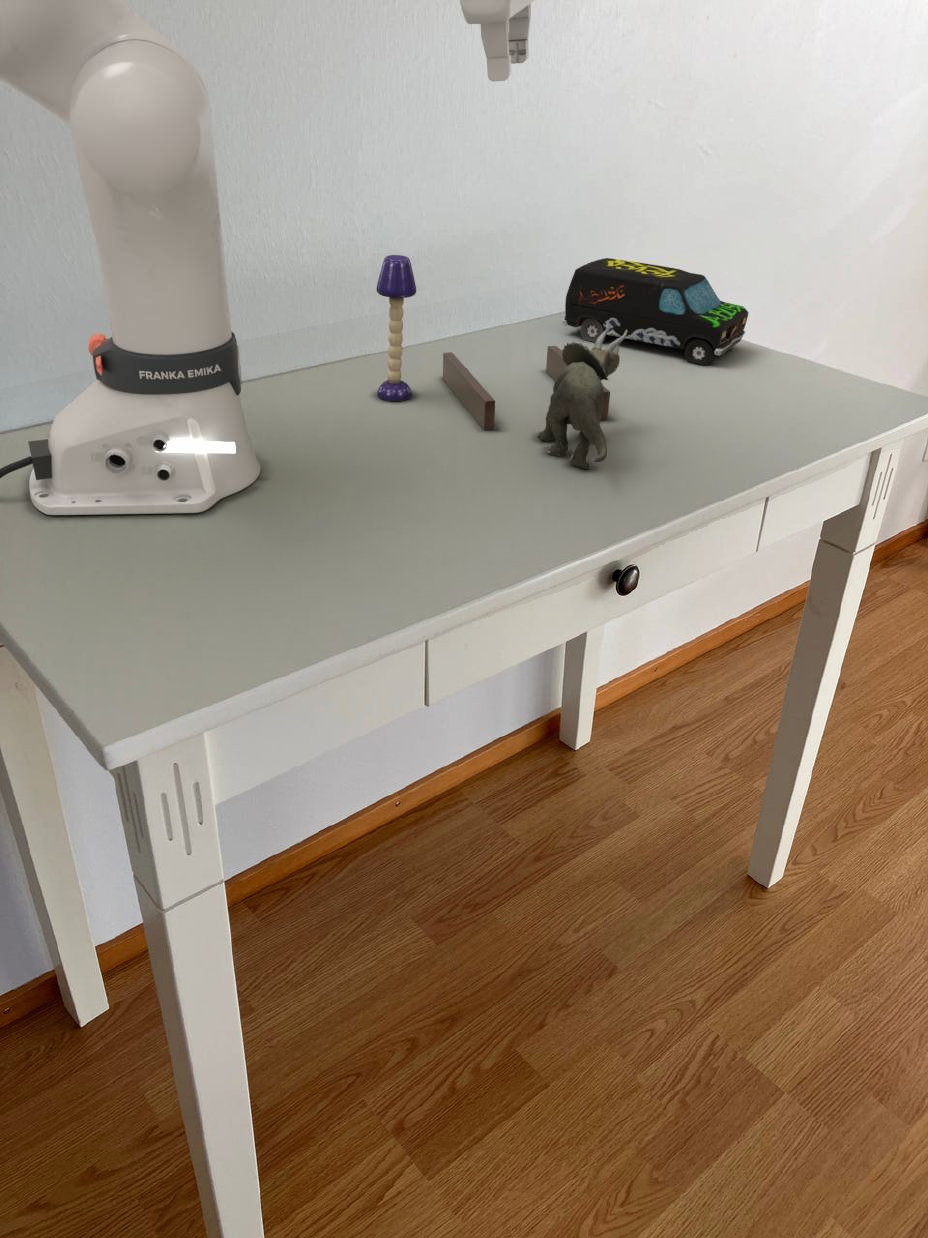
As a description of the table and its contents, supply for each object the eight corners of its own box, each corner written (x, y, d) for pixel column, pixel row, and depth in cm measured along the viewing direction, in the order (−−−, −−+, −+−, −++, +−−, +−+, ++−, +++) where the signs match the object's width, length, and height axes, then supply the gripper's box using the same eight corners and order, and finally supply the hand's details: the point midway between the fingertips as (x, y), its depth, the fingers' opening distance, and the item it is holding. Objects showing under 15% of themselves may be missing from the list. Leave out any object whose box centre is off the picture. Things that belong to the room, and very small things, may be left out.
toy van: (718, 369, 139) (730, 294, 133) (558, 335, 150) (563, 265, 145) (746, 350, 146) (758, 278, 141) (591, 319, 158) (597, 252, 152)
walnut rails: (484, 430, 118) (485, 401, 116) (442, 379, 132) (443, 352, 130) (607, 419, 122) (610, 391, 120) (554, 371, 136) (556, 345, 134)
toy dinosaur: (601, 497, 103) (613, 389, 98) (518, 487, 105) (525, 381, 99) (617, 420, 122) (628, 325, 116) (547, 412, 123) (554, 319, 117)
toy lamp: (419, 391, 128) (420, 253, 119) (411, 404, 124) (411, 262, 115) (382, 388, 129) (380, 250, 120) (372, 401, 125) (370, 259, 116)
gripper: (486, -122, 91) (495, 54, 99) (434, -118, 75) (450, 92, 83) (557, -128, 90) (560, 51, 98) (519, -125, 74) (527, 89, 82)
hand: (509, 70), depth 90 cm, fingers open, 8 cm apart
